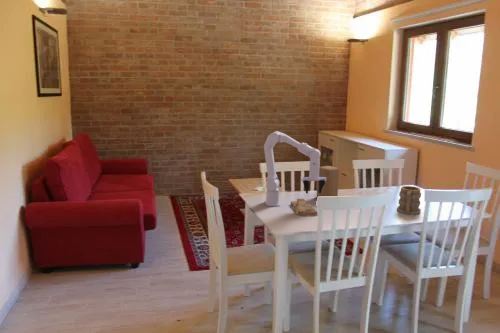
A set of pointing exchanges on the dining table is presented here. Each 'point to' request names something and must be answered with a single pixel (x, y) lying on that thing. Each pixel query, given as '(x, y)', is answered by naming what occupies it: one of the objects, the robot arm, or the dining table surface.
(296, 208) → the tan wood block
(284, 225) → the dining table surface
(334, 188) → the wooden block
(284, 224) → the dining table surface
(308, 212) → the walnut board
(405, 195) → the tankard
